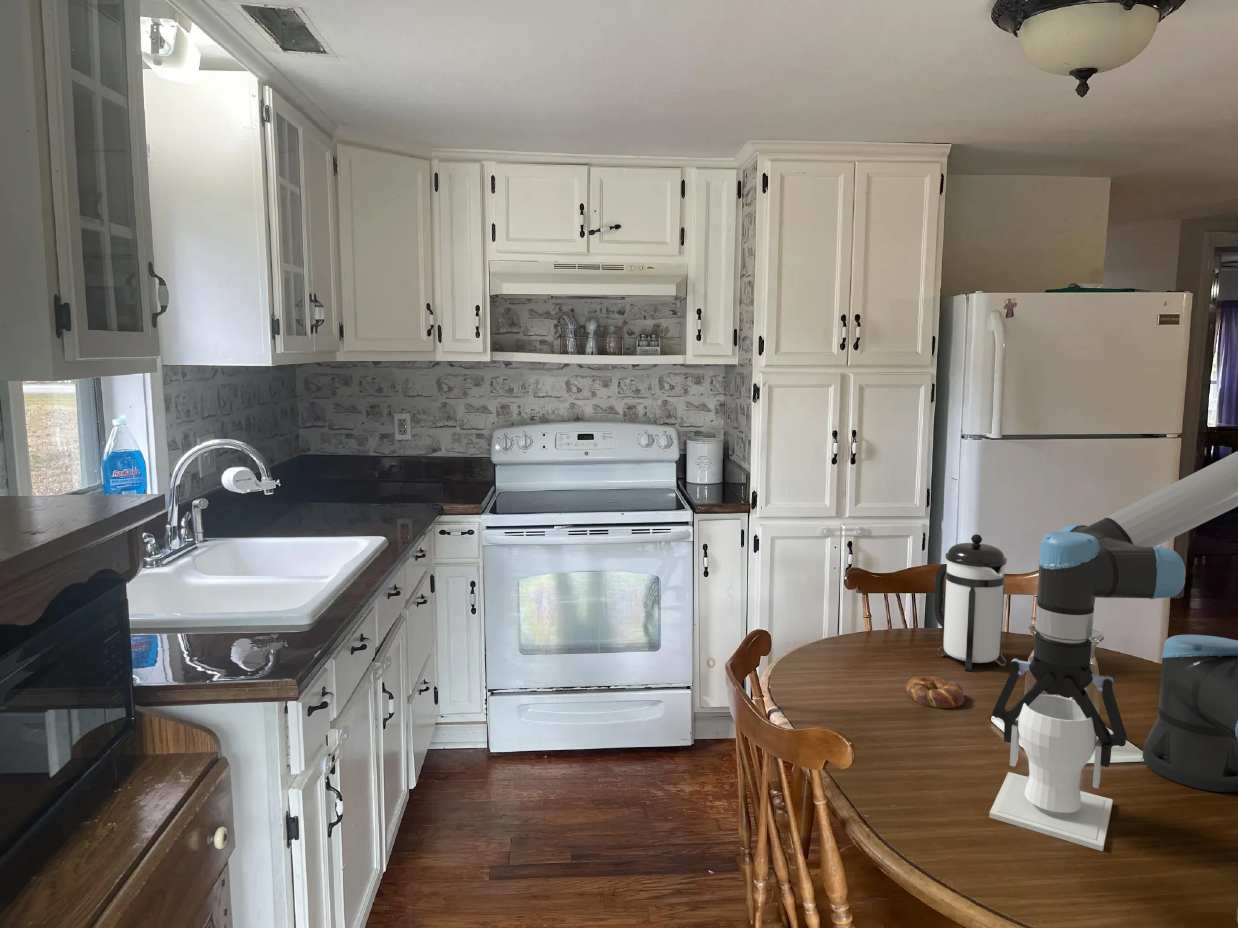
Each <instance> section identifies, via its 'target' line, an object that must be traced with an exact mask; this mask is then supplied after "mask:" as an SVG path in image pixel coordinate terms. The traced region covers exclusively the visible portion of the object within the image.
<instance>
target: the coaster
mask: <svg viewBox="0 0 1238 928" xmlns="http://www.w3.org/2000/svg"><path fill="white" fill-rule="evenodd" d="M1027 780H1028V776H1025V775H1021V774H1018V773H1014V772H1010V771H1008V772H1007V774H1006V776H1005V779H1004V781H1003V782H1002V785H1001V788H1000V789H999V791H998V794H997V796H996V798H995V800H994V802H993V805H992V807H991V808H990V811H989V814H988V815H989V817H988V818H990V819H993V820H997V821H1000V822H1003V823H1007V824H1010V825H1014V826H1017V827H1020V828H1024V829H1027V830H1030V831H1033V832H1037V833H1040V834H1043V835H1047V836H1050V837H1053V838H1057V839H1061V840H1063V841H1066V842H1069V843H1070V842H1071V843H1074V844H1076V845H1077V844H1078V845H1080V846H1084V847H1086V848H1090V849H1094V850H1098V851H1101V852H1104V847H1105V843H1106V838H1107V832H1108V828H1109V823H1110V818H1111V813H1112V807H1113V799H1112V798H1107V797H1104V796H1100V795H1097V794H1093V793H1090V792H1086V791H1082V790H1080V796H1081V808H1080V809H1079V810H1078V811H1075V812H1071V813H1060V812H1053V811H1049V810H1046V809H1043V808H1040V807H1038V806H1036V805H1034V804H1033V803H1031V802H1030V801H1029V800H1028V799H1027V798H1026V797H1025V794H1024V793H1025V788H1026V783H1027Z"/></svg>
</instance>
